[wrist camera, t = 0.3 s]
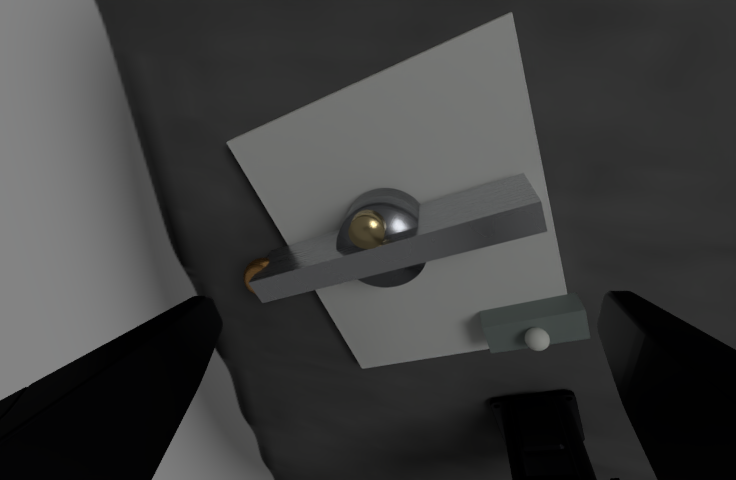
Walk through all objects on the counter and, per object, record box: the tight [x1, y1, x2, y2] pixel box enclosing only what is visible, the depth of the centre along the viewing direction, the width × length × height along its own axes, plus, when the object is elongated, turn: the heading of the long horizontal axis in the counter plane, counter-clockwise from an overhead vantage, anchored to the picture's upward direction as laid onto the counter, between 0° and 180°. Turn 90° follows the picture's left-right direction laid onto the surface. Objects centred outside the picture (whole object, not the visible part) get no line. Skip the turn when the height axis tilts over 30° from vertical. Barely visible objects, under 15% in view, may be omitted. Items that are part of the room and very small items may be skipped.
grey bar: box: [243, 173, 547, 303], centre depth 20 cm, size 5×18×4 cm, turn 113°
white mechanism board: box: [226, 12, 590, 369], centre depth 21 cm, size 20×16×4 cm
